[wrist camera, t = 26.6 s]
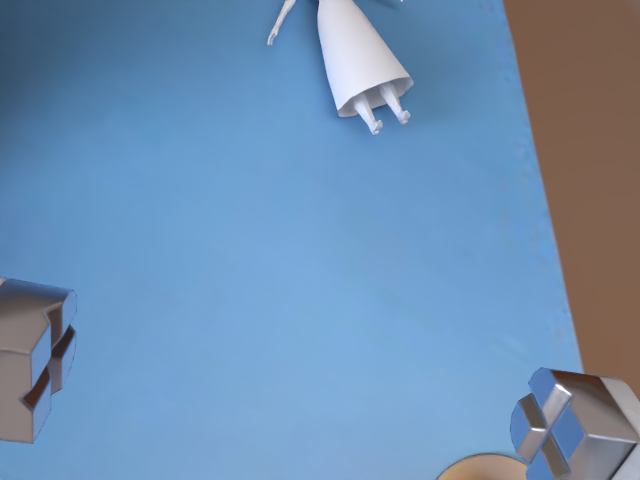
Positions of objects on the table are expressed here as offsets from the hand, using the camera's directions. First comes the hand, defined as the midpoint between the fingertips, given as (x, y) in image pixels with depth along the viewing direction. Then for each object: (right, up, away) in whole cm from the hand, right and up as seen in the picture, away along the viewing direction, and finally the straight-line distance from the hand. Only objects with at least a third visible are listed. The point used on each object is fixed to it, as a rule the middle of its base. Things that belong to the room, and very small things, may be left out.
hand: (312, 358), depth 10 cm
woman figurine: (+2, +18, +34) cm, 38 cm away
